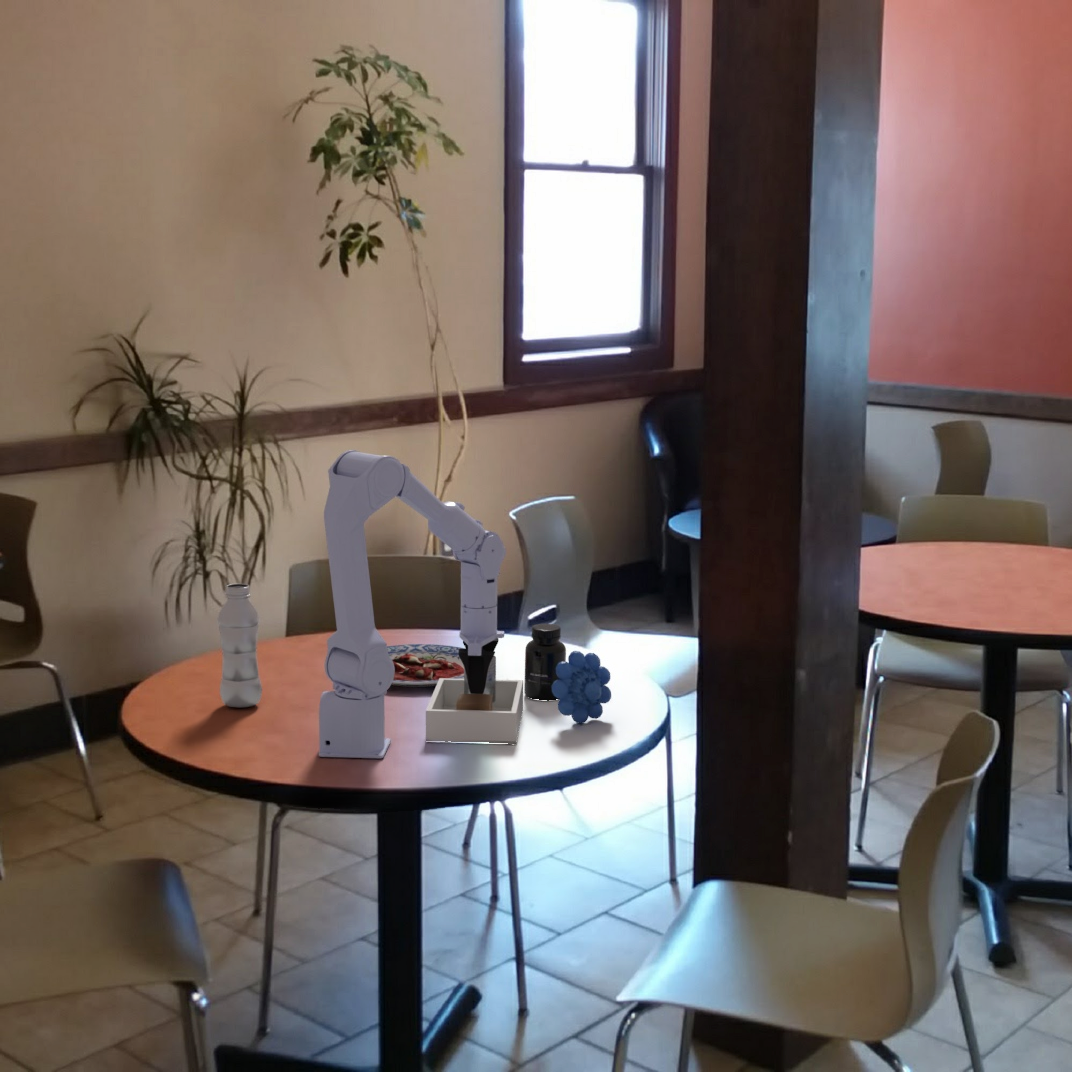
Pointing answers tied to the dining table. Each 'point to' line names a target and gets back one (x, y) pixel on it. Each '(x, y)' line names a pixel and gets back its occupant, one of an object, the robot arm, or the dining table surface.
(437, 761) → the dining table surface
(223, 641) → the plastic bottle
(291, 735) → the dining table surface
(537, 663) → the supplement bottle
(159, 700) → the dining table surface
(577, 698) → the blue knobbed flower shape
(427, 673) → the ceramic plate
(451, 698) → the box
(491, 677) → the grey metal cylinder
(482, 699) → the walnut cube
